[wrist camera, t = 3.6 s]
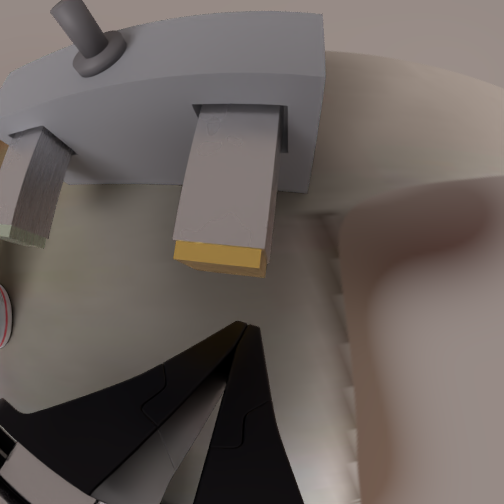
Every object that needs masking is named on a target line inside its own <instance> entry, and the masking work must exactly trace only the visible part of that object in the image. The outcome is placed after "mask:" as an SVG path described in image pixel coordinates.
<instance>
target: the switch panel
mask: <svg viewBox="0 0 504 504" xmlns="http://www.w3.org/2000/svg"><path fill="white" fill-rule="evenodd" d="M50 13H51V14H52V15H53V17H54V18H55V19H56V21H57V22H58V23H59V25H60V26H61V27H62V29H63V30H64V31H65V33H66V34H67V35H68V36H69V38H70V39H71V41H72V42H73V43H74V44H73V45H71V46H68V47H65V48H63V49H60V50H58V51H56V52H53V53H51V54H48V55H46V56H44V57H41V58H39V59H37V60H35V61H33V62H30V63H28V64H26V65H24V66H22V67H20V68H18V69H16V70H14V71H12V72H11V73H10V74H9V75H8V77H7V78H6V80H5V82H4V83H3V85H2V87H1V89H0V140H2V141H3V142H5V143H6V144H8V145H10V143H11V140H12V138H13V136H14V133H16V132H20V131H23V130H27V129H30V128H34V127H38V126H42V125H43V126H44V127H45V128H47V129H48V130H49V131H50V132H51V133H53V134H54V135H55V136H56V137H58V138H59V139H60V140H61V141H62V142H64V143H65V144H66V145H67V146H69V147H70V148H71V149H72V150H73V153H72V156H71V159H70V161H69V164H68V167H67V171H66V174H65V177H64V180H63V181H64V182H66V183H67V184H69V185H72V184H169V185H183V182H184V177H185V172H186V168H187V164H188V159H189V155H190V151H191V146H192V142H193V138H194V134H195V130H196V126H197V122H198V118H199V114H200V111H201V107H202V104H266V105H284V127H283V138H282V149H281V159H280V169H279V179H278V189H277V191H288V192H299V193H308V187H309V182H310V176H311V170H312V164H313V158H314V152H315V146H316V140H317V134H318V127H319V121H320V114H321V107H322V100H323V93H324V86H325V79H326V72H325V47H324V29H323V15H322V14H314V13H300V12H281V11H280V12H279V11H249V12H248V11H246V12H225V13H213V14H203V15H194V16H186V17H179V18H174V19H167V20H161V21H157V22H151V23H146V24H142V25H137V26H133V27H129V28H125V29H121V30H117V31H108V32H105V33H103V32H102V30H101V29H100V27H99V26H98V24H97V23H96V21H95V20H94V18H93V17H92V15H91V13H90V12H89V10H88V9H87V7H86V5H85V4H84V2H83V1H82V0H61V1H60V2H59V3H58V4H56V5H55V6H54V7H53V8H52V10H51V12H50Z"/></svg>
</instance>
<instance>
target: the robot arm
mask: <svg viewBox="0 0 504 504" xmlns="http://www.w3.org/2000/svg"><path fill="white" fill-rule="evenodd" d="M223 391H224V394H223V397H222V401H221V405H220V408H219V412H218V416H217V419H216V423H215V427H214V430H213V434H212V438H211V441H210V445H209V449H208V452H207V456H206V459H205V463H204V466H203V470H202V474H201V477H200V481H199V484H198V488H197V491H196V495H195V498H194V502H193V504H304V502H303V499H302V496H301V494H300V491H299V488H298V485H297V483H296V480H295V477H294V474H293V471H292V469H291V466H290V463H289V460H288V457H287V455H286V452H285V449H284V446H283V443H282V440H281V437H280V434H279V430H278V427H277V423H276V419H275V414H274V409H273V403H272V398H271V392H270V386H269V380H268V374H267V368H266V362H265V355H264V349H263V343H262V337H261V331H260V328H259V327H257V326H254V325H251V324H249V325H247V323H244V322H241V321H235V322H233V323H231V324H230V325H228V326H226V327H225V328H223V329H221V330H220V331H218V332H216V333H215V334H213V335H211V336H210V337H208V338H206V339H204V340H203V341H201V342H199V343H197V344H196V345H194V346H192V347H191V348H189V349H187V350H185V351H184V352H182V353H180V354H178V355H176V356H175V357H173V358H171V359H169V360H168V361H166V362H164V363H163V364H160V365H158V366H156V367H154V368H152V369H150V370H148V371H146V372H144V373H142V374H140V375H138V376H136V377H133V378H131V379H129V380H126V381H124V382H121V383H119V384H116V385H113V386H111V387H108V388H105V389H103V390H100V391H97V392H94V393H91V394H89V395H86V396H83V397H80V398H77V399H74V400H71V401H68V402H65V403H62V404H59V405H56V406H53V407H50V408H47V409H44V410H41V411H37V412H34V413H30V414H23V413H20V412H18V411H17V410H16V409H15V408H14V407H13V406H12V405H10V404H9V403H8V402H7V401H6V400H5V399H3V398H1V399H0V425H1V426H2V427H3V428H4V429H5V430H6V431H7V432H8V433H9V434H10V435H11V436H12V437H13V438H14V439H15V440H17V442H15V441H14V440H13V439H12V438H11V437H10V436H9V435H8V434H7V433H6V432H5V431H4V430H3V429H2V428H1V427H0V504H160V502H161V500H162V497H163V495H164V493H165V491H166V488H167V486H168V484H169V482H170V480H171V478H172V476H173V475H174V473H175V471H176V470H177V468H178V467H179V465H180V463H181V462H182V460H183V459H184V457H185V455H186V454H187V452H188V450H189V449H190V447H191V446H192V444H193V442H194V441H195V439H196V437H197V436H198V434H199V432H200V431H201V429H202V427H203V426H204V424H205V422H206V421H207V419H208V417H209V416H210V414H211V412H212V410H213V409H214V407H215V405H216V404H217V402H218V400H219V398H220V397H221V395H222V393H223Z"/></svg>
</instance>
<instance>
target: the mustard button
mask: <svg viewBox="0 0 504 504" xmlns="http://www.w3.org/2000/svg"><path fill="white" fill-rule="evenodd" d="M283 127H284V105H266V104H202V107H201V111H200V114H199V118H198V122H197V126H196V130H195V134H194V138H193V142H192V146H191V151H190V155H189V159H188V164H187V168H186V172H185V177H184V182H183V186H182V191H181V196H180V201H179V206H178V211H177V217H176V222H175V228H174V233H173V239H172V240H174V241H175V242H176V245H175V251H174V257H173V259H175V260H177V261H179V262H181V263H183V264H185V265H187V266H190V267H192V268H194V269H196V270H200V271H209V272H217V273H226V274H234V275H243V276H252V277H261V278H265V274H266V266H267V263H268V264H269V263H270V254H271V245H272V236H273V227H274V218H275V208H276V199H277V189H278V179H279V169H280V159H281V149H282V138H283Z"/></svg>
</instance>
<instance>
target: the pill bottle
mask: <svg viewBox="0 0 504 504" xmlns="http://www.w3.org/2000/svg"><path fill="white" fill-rule="evenodd" d="M11 326H12V310H11V303H10V300H9V297H8V294H7V292H6V290H5V289H4V288H3V286H2V285H1V284H0V348H2V347H4V346H5V345H6V343H7V342H8V340H9V337H10V333H11Z"/></svg>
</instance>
